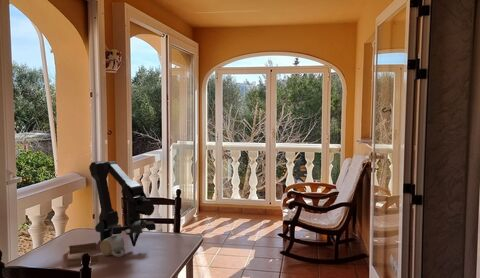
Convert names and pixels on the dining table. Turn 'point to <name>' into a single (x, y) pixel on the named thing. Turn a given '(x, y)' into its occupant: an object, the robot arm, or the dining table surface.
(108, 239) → the ceramic mug
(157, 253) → the dining table surface
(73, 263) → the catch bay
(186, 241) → the dining table surface
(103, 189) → the robot arm
